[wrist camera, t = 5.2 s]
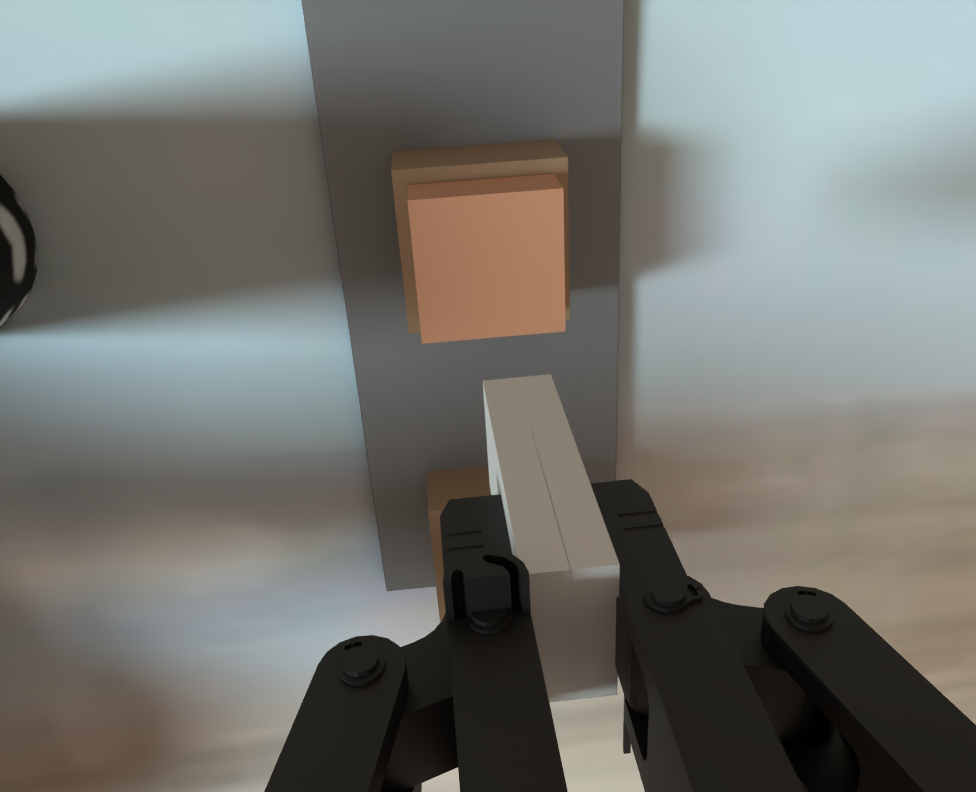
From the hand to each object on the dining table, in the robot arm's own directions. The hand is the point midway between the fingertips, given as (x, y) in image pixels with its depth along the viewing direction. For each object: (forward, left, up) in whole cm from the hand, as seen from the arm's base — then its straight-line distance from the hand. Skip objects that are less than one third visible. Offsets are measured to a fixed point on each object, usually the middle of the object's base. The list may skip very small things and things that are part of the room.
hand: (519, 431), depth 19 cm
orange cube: (0, 0, -16) cm, 16 cm away
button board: (0, 0, -17) cm, 17 cm away
